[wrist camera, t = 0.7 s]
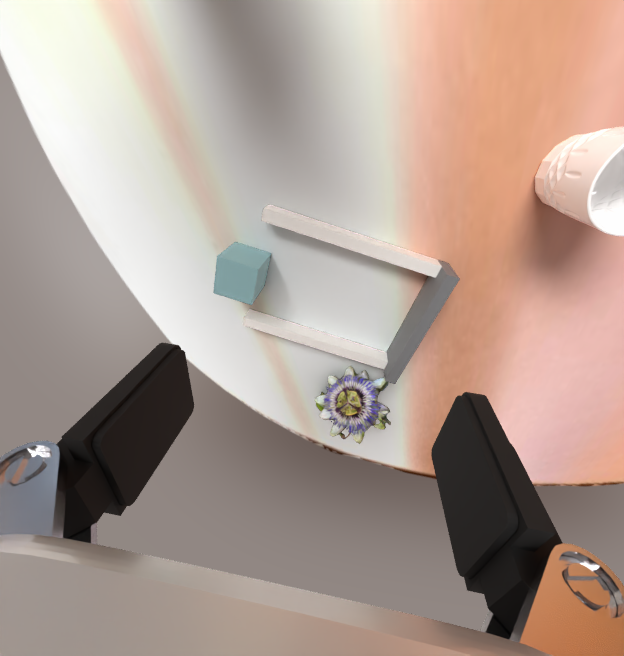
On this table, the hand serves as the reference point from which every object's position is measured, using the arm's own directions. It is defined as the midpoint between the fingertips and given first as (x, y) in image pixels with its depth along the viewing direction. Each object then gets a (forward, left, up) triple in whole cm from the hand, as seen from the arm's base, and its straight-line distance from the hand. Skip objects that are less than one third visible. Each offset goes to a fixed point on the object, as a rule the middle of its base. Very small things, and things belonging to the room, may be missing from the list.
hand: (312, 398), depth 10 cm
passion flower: (+10, -26, -31) cm, 41 cm away
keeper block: (-11, -10, -30) cm, 34 cm away
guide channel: (+2, -10, -30) cm, 32 cm away
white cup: (+20, +11, -31) cm, 38 cm away
